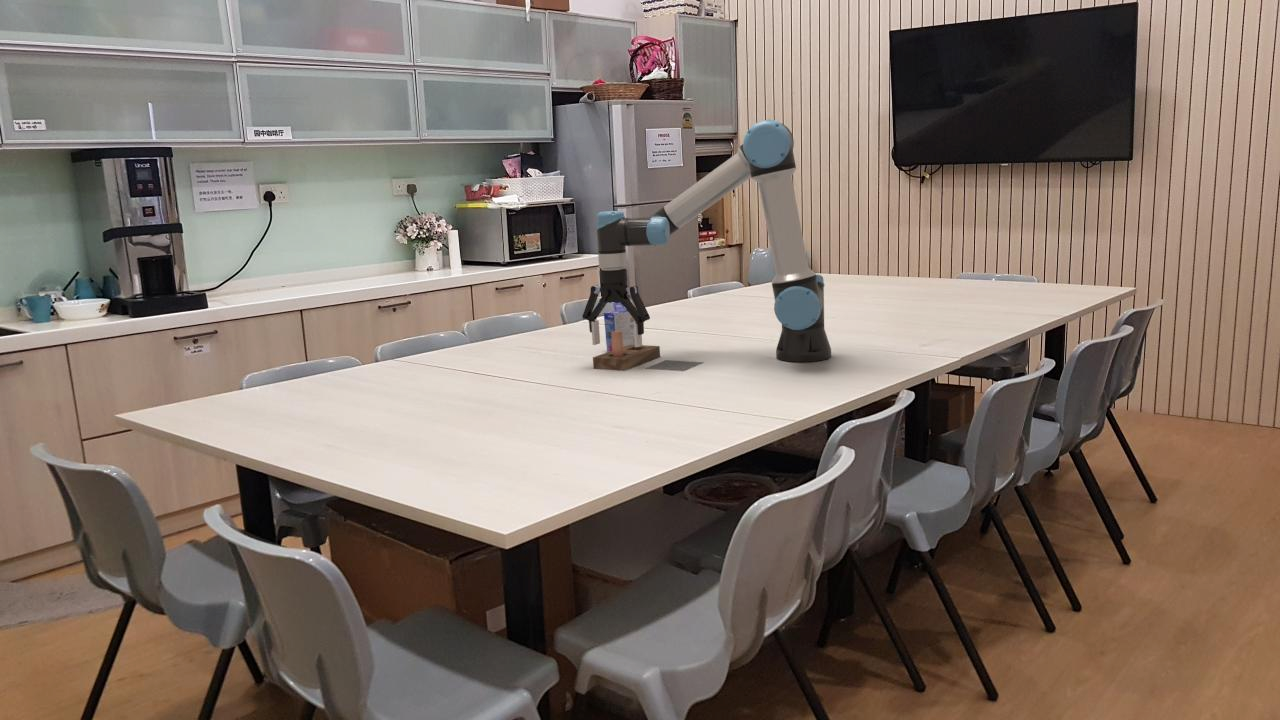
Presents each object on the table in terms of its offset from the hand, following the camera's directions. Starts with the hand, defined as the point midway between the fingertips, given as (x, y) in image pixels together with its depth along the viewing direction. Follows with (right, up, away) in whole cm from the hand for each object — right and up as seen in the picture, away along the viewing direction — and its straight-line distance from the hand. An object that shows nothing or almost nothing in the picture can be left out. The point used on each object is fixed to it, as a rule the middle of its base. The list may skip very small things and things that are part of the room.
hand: (617, 345), depth 274 cm
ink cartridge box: (+1, -1, +27) cm, 27 cm away
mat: (+16, -6, -2) cm, 17 cm away
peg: (0, -6, +1) cm, 6 cm away
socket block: (+3, -5, +5) cm, 8 cm away
